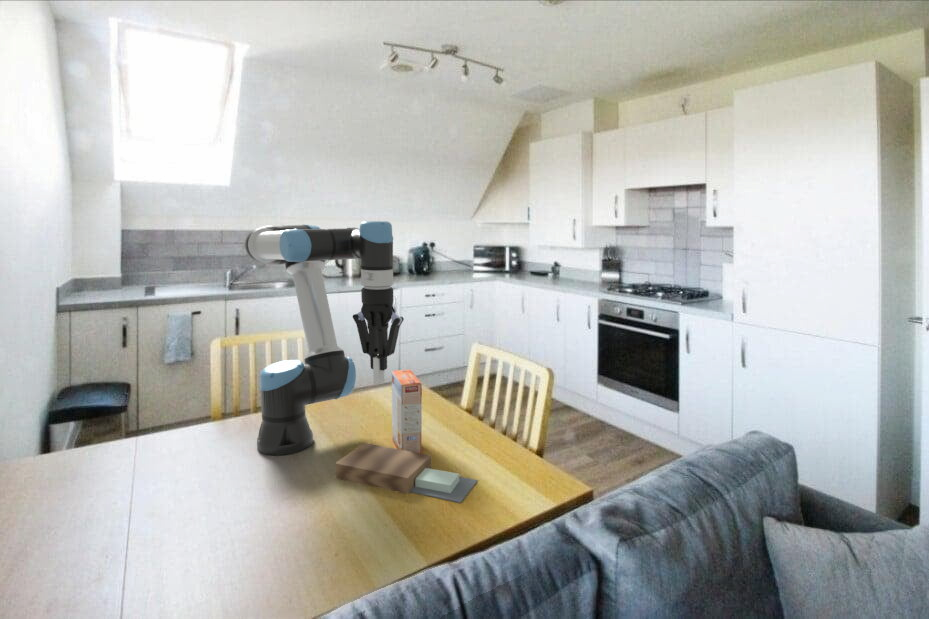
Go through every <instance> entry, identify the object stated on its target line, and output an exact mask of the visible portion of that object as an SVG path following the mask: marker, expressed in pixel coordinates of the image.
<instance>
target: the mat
mask: <svg viewBox="0 0 929 619" xmlns="http://www.w3.org/2000/svg"><path fill="white" fill-rule="evenodd" d="M477 483H478V479H474V478H468V477H465V476H460V475H459V482H458V484H457V485H456V487H455V488H454V489H453V491H452V492H451V493H447V492H441V491H436V490H431V489H426V488H420V487H415V486H414V487H413V488H412V489H411V490H410V492H409V493H413V494H417V495H421V496H426V497H431V498H436V499H439V500H446V501H448V502H449V501H450V502H453V503H454V502H455V503H457V504H458V503H459V504H462V503H463V501H464V500H465V498H466V497H467V496H468V494H469V493H470V492H471V490H472V489H473V488H474V487H475V486H476V484H477Z"/></svg>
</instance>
